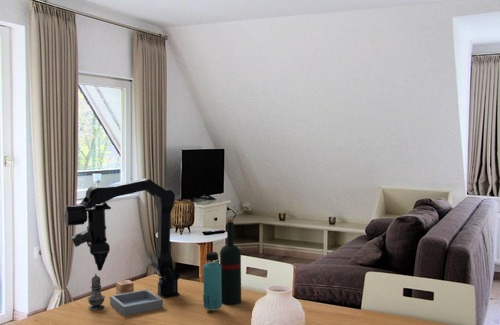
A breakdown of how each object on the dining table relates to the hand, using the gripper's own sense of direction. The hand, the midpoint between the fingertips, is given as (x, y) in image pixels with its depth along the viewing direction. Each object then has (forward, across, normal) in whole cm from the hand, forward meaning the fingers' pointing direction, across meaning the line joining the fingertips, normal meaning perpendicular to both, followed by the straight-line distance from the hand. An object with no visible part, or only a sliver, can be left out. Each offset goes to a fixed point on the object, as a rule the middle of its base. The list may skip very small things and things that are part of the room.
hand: (98, 267), depth 184 cm
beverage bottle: (+15, +19, +35) cm, 43 cm away
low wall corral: (+14, +5, +12) cm, 19 cm away
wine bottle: (+15, +11, +45) cm, 49 cm away
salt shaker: (+14, +2, -1) cm, 14 cm away
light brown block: (+14, -9, +10) cm, 19 cm away
